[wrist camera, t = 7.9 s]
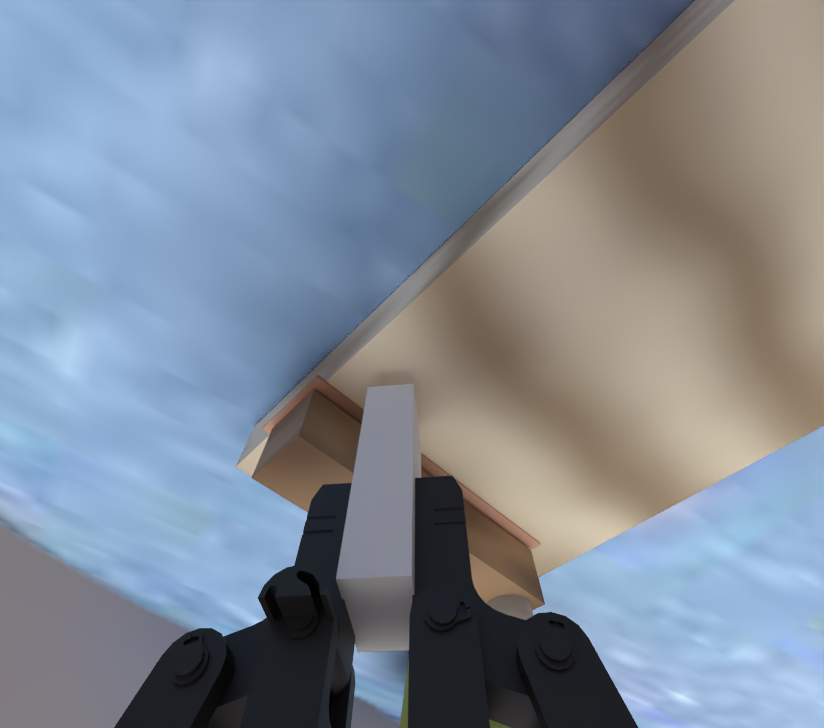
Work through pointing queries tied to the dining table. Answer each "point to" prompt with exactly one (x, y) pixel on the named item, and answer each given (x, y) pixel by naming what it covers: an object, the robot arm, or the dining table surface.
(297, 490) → the folding leg
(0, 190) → the dining table surface
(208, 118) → the dining table surface
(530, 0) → the dining table surface
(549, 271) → the stool seat
